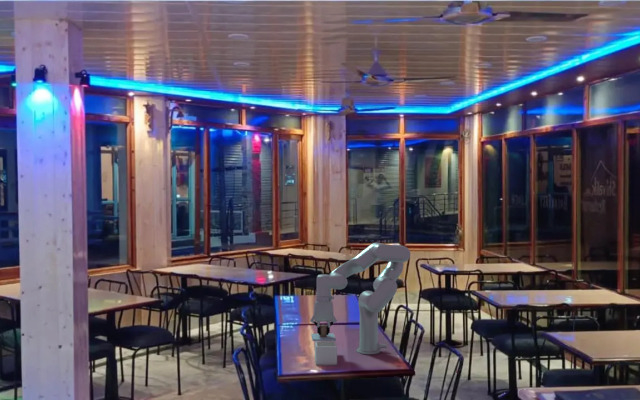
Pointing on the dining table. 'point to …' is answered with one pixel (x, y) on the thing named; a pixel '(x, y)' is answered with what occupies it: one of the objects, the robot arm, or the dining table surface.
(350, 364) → the dining table surface
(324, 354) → the storage box
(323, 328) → the lid
